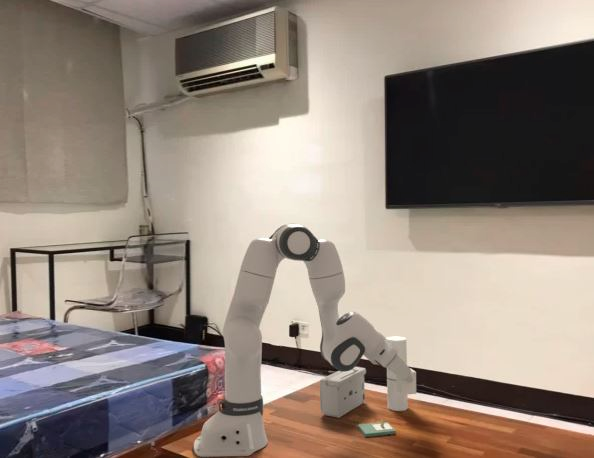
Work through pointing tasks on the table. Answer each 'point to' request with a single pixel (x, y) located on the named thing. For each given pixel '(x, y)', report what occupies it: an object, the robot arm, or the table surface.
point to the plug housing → (406, 385)
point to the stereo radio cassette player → (342, 392)
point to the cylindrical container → (393, 396)
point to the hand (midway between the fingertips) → (407, 378)
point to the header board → (376, 429)
